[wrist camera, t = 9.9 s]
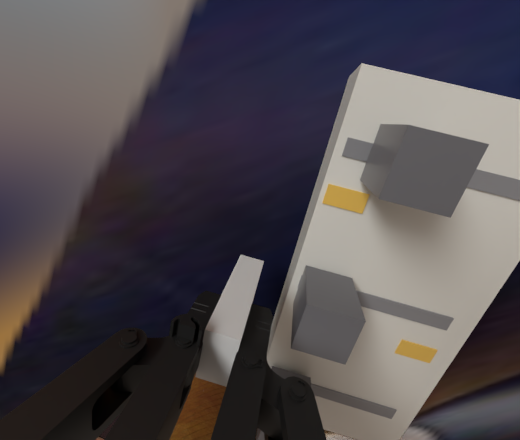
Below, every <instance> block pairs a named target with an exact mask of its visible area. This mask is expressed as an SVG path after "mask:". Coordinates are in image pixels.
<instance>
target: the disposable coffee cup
mask: <svg viewBox="0 0 520 440" xmlns="http://www.w3.org/2000/svg"><path fill="white" fill-rule="evenodd" d="M195 376H196V374H195ZM195 376H194V378H193V381H192V385H191V390H190V392H189V394H188V397H187V399H186V402H185V404H184V406H183V409H182V411H181V413H180V416H179V418H178V421H177V423H176V425H175V428H174V430H173V432H172V435H171V437H170V440H211V437H212V433H213V430H214V426H215V423H216V420H217V416H218V413H219V410H220V406H221V403H222V399H223V396H224V393H225V389H226V387H225V386H222V385H219V384H216V383H213V382H209V381H206V380H203V379H200V378H197V377H195Z"/></svg>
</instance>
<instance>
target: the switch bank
mask: <svg viewBox="0 0 520 440" xmlns="http://www.w3.org/2000/svg"><path fill="white" fill-rule="evenodd" d="M380 124H403V125H412V126H416V127H420V128H425V129H429V130H433V131H437V132H441V133H445V134H449V135H453V136H458V137H462V138H466V139H470V140H474V141H478V142H482V143H486V144H489V146H488V148H487V150H486V151H485V153H484V155H483V157H482V159H481V161H480V163H479V165H478V167H477V169H476V170H475V172H474V174H473V176H472V178H471V180H470V182H469V184H468V186H467V188H466V189H465V191H464V193H463V195H462V197H461V199H460V201H459V203H458V205H457V207H456V208H455V210H454V212H453V214H452V216H451V218H450V217H446V216H442V215H438V214H434V213H430V212H427V211H423V210H419V209H415V208H411V207H407V206H403V205H400V204H396V203H392V202H388V201H384V200H380V199H378V198H377V197H376V196H375V195H374V194H373V193H372V192H371V191H370V190H369V189H368V188H367V187H366V186H365V185H364V184H363V183H362V182H361V181H360V178H361V175H362V173H363V170H364V167H365V164H366V162H367V159H368V156H369V154H370V151H371V148H372V146H373V143H374V140H375V138H376V135H377V132H378V130H379V127H380ZM519 261H520V100H518V99H514V98H509V97H505V96H501V95H496V94H492V93H488V92H483V91H479V90H475V89H470V88H466V87H462V86H457V85H453V84H449V83H444V82H440V81H436V80H432V79H427V78H423V77H419V76H414V75H410V74H406V73H401V72H397V71H393V70H388V69H384V68H380V67H375V66H371V65H367V64H361V65H360V66H359V67H358V68H357V69H356V70H355V71H354V72H353V73H352V74H351V75H350V76H349V79H348V82H347V85H346V88H345V91H344V95H343V98H342V101H341V104H340V107H339V111H338V114H337V117H336V120H335V123H334V127H333V130H332V133H331V136H330V139H329V143H328V146H327V149H326V152H325V155H324V159H323V162H322V165H321V168H320V171H319V175H318V178H317V181H316V184H315V187H314V191H313V194H312V197H311V200H310V203H309V207H308V210H307V213H306V216H305V219H304V223H303V226H302V229H301V232H300V235H299V239H298V242H297V245H296V248H295V251H294V255H293V258H292V261H291V264H290V267H289V271H288V274H287V277H286V280H285V283H284V287H283V290H282V293H281V296H280V299H279V303H278V306H277V309H276V312H275V315H274V319H273V322H272V325H271V331H270V337H269V344H268V350H267V362H268V364H269V366H270V368H271V367H272V366H274V367H278V368H281V369H284V370H288V371H291V372H294V373H297V374H301V375H304V376H307V377H311V388H312V390H313V393H314V395H315V399H316V403H317V407H318V410H319V414H320V418H321V421H322V425H323V429H324V430H327V431H331V432H334V433H337V434H340V435H343V436H346V437H350V438H353V439H356V440H400V439H401V437H402V436H403V434H404V433H405V431H406V430H407V428H408V427H409V425H410V424H411V422H412V421H413V419H414V418H415V416H416V415H417V413H418V412H419V410H420V409H421V407H422V406H423V404H424V403H425V401H426V400H427V398H428V397H429V395H430V394H431V392H432V391H433V389H434V388H435V386H436V385H437V383H438V382H439V380H440V379H441V377H442V376H443V374H444V373H445V371H446V370H447V368H448V367H449V365H450V364H451V362H452V361H453V359H454V358H455V356H456V355H457V353H458V352H459V350H460V349H461V347H462V346H463V344H464V343H465V341H466V340H467V338H468V337H469V335H470V334H471V332H472V331H473V329H474V328H475V326H476V325H477V323H478V322H479V320H480V319H481V317H482V316H483V314H484V313H485V311H486V310H487V308H488V307H489V305H490V304H491V302H492V301H493V299H494V298H495V296H496V295H497V293H498V292H499V290H500V289H501V287H502V286H503V284H504V283H505V281H506V280H507V278H508V277H509V275H510V274H511V272H512V271H513V269H514V268H515V267H516V265H517V264H518V262H519ZM306 265H307V266H311V267H314V268H318V269H321V270H325V271H329V272H332V273H336V274H339V275H343V276H347V277H350V278H352V279H353V282H354V285H355V288H356V292H357V295H358V298H359V301H360V304H361V307H362V311H363V314H364V317H365V320H366V322H365V324H364V326H363V329H362V331H361V333H360V335H359V337H358V339H357V341H356V343H355V345H354V348H353V350H352V352H351V354H350V356H349V358H348V360H347V362H346V364H345V365H344V364H341V363H338V362H334V361H331V360H328V359H324V358H321V357H318V356H314V355H311V354H308V353H304V352H301V351H297V350H294V349H291V334H292V316H293V302H294V299H295V296H296V293H297V290H298V287H299V284H300V281H301V278H302V275H303V272H304V269H305V266H306Z"/></svg>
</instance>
